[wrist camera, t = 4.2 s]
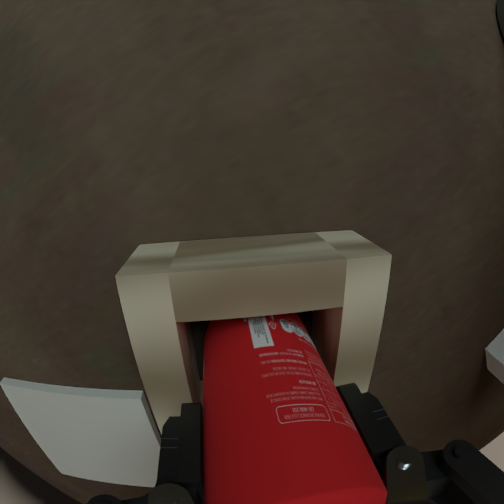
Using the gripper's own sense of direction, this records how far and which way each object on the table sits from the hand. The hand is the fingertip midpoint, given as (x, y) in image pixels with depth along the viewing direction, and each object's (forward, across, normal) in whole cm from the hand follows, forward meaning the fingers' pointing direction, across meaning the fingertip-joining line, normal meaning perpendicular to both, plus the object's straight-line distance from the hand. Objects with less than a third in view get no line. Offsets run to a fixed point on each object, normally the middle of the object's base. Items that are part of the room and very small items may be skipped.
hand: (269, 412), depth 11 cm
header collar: (+6, 0, 0) cm, 6 cm away
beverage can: (+6, 0, 0) cm, 6 cm away
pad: (+6, +13, +10) cm, 17 cm away
